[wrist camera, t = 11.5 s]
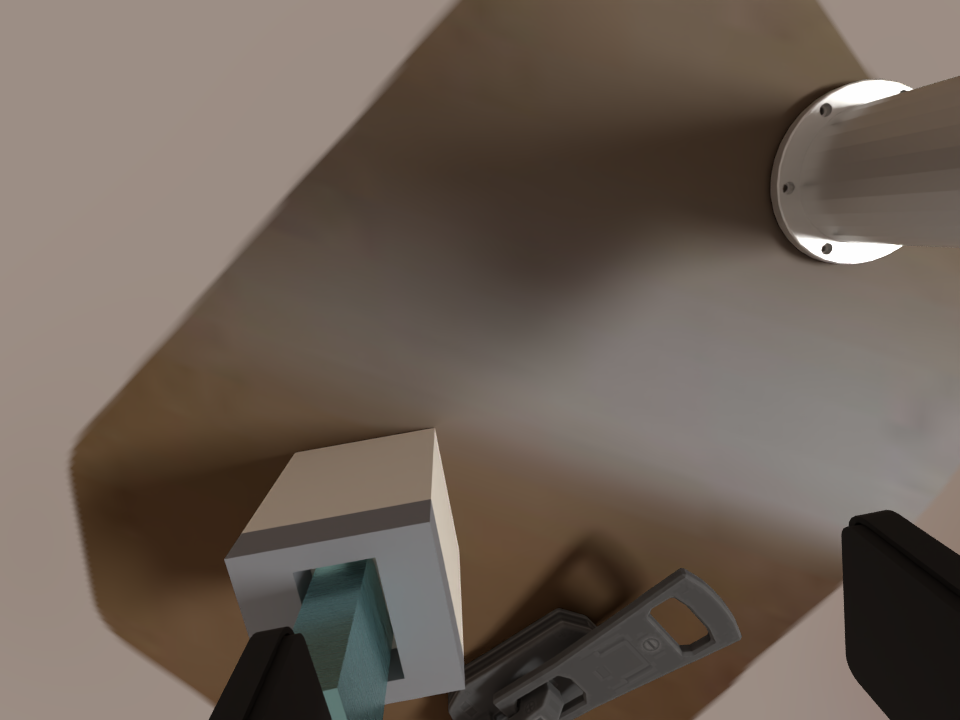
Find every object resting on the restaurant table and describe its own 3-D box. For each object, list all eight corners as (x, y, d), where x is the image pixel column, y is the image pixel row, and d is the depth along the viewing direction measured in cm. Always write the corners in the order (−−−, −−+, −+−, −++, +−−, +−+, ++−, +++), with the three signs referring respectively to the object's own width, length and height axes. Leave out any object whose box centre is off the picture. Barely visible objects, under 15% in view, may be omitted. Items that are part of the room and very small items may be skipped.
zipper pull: (756, 639, 41) (505, 822, 44) (714, 584, 48) (497, 746, 51) (689, 563, 39) (431, 759, 42) (655, 516, 46) (432, 688, 49)
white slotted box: (434, 427, 43) (429, 521, 29) (459, 550, 45) (465, 689, 32) (294, 452, 42) (224, 559, 29) (327, 574, 45) (277, 724, 31)
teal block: (369, 548, 32) (337, 688, 22) (393, 632, 33) (372, 799, 24) (319, 558, 32) (264, 703, 22) (345, 643, 33) (304, 813, 24)
